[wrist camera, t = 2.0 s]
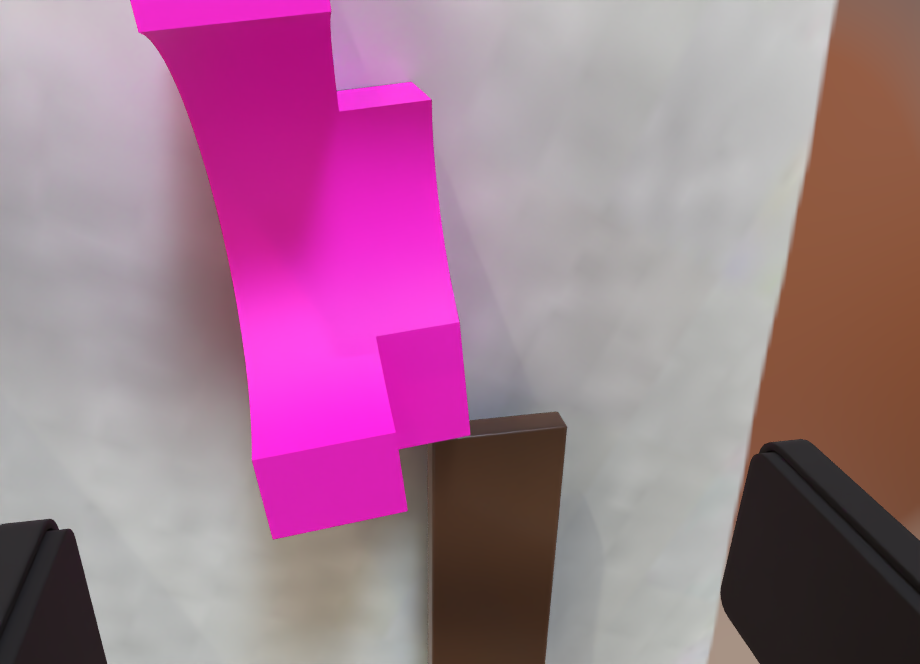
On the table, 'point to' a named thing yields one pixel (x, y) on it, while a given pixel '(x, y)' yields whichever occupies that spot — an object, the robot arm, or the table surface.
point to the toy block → (321, 254)
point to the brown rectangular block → (493, 539)
